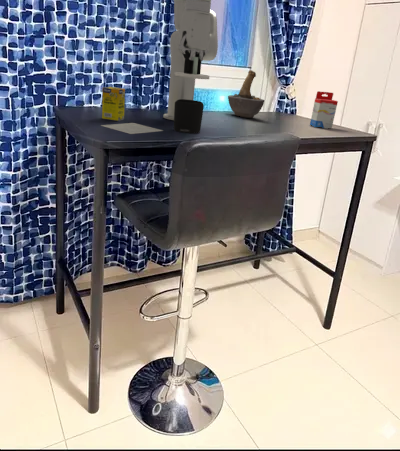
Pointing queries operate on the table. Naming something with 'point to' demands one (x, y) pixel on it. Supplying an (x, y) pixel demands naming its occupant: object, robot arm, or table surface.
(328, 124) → the ink box
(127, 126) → the mat
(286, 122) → the table surface
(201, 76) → the lid
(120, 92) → the supplement box
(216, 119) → the table surface
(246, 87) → the mortar and pestle
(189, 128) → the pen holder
